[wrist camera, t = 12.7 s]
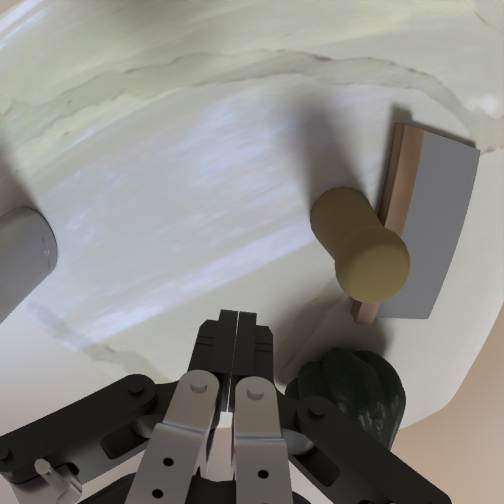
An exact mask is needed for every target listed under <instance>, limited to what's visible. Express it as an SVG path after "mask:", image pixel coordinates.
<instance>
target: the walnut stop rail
mask: <svg viewBox="0 0 504 504" xmlns="http://www.w3.org/2000/svg"><path fill="white" fill-rule="evenodd" d="M423 136H424V129H420V128H417V127H414V126H410V125H407V124H401V123H396V125H395V132H394V138H393V144H392V150H391V156H390V162H389V167H388V172H387V177H386V182H385V187H384V192H383V197H382V201H381V206H380V210H379V214H378V219H379V221H380V222H381V224H382V226H383V227H385V228H387V229H389V230H391V231H393V232H395V233H396V234H397V235H398V236H399V237H400V238H401V236H402V233H403V229H404V225H405V221H406V218H407V214H408V210H409V206H410V201H411V197H412V193H413V188H414V184H415V179H416V174H417V169H418V164H419V159H420V154H421V148H422V142H423ZM379 305H380V302H378V303H364V302H360V301H358V300H355V302H354V305H353V308H352V311H351V312H352V315H353V318H354V320H355V323H368V324H373V321H374V319H375V316H376V313H377V311H378V308H379Z"/></svg>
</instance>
